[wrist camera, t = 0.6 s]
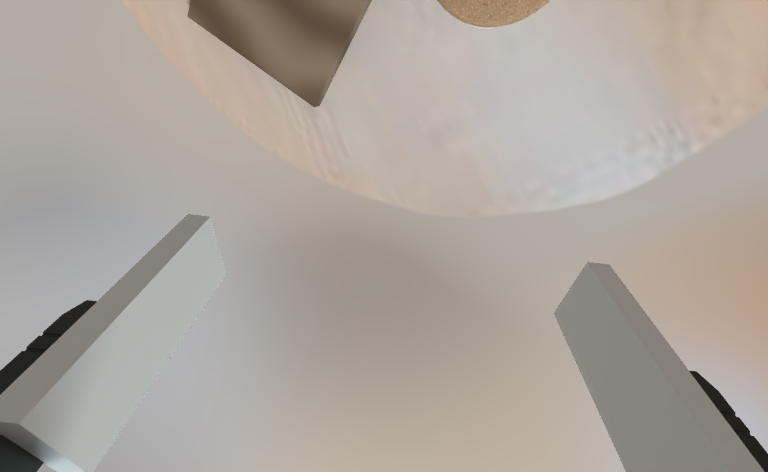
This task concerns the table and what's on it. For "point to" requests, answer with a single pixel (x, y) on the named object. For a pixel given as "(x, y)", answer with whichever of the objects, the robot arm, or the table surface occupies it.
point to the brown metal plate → (286, 37)
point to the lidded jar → (490, 11)
